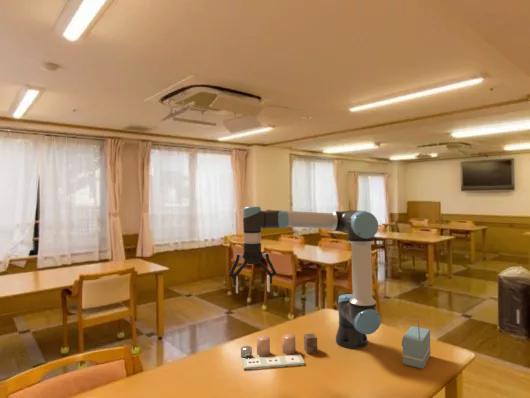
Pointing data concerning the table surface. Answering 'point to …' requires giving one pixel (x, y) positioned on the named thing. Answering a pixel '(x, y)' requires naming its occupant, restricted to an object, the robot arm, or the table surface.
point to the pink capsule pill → (263, 345)
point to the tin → (246, 352)
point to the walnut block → (310, 343)
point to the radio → (416, 347)
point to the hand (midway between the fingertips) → (252, 292)
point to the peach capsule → (289, 344)
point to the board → (273, 362)
